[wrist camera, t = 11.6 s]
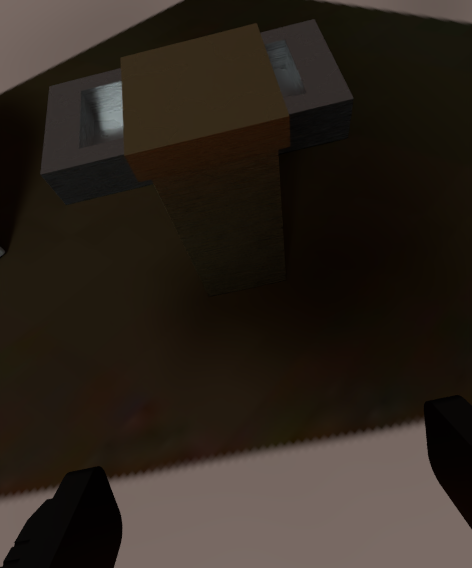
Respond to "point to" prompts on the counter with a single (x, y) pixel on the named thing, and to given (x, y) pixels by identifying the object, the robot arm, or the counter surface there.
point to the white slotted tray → (109, 115)
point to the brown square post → (212, 151)
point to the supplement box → (1, 251)
